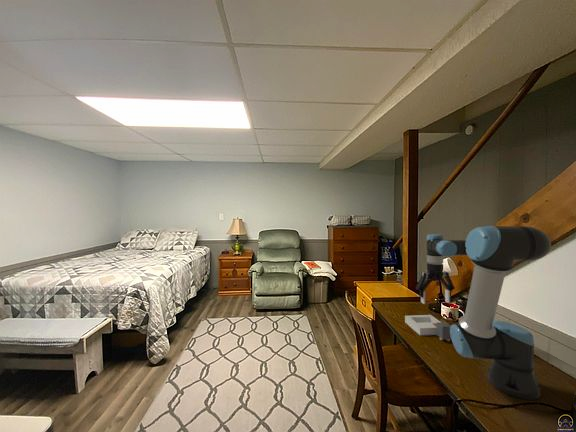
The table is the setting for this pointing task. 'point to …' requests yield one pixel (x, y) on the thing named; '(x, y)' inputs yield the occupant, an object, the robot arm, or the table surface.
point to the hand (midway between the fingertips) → (435, 302)
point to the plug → (443, 330)
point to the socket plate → (422, 324)
